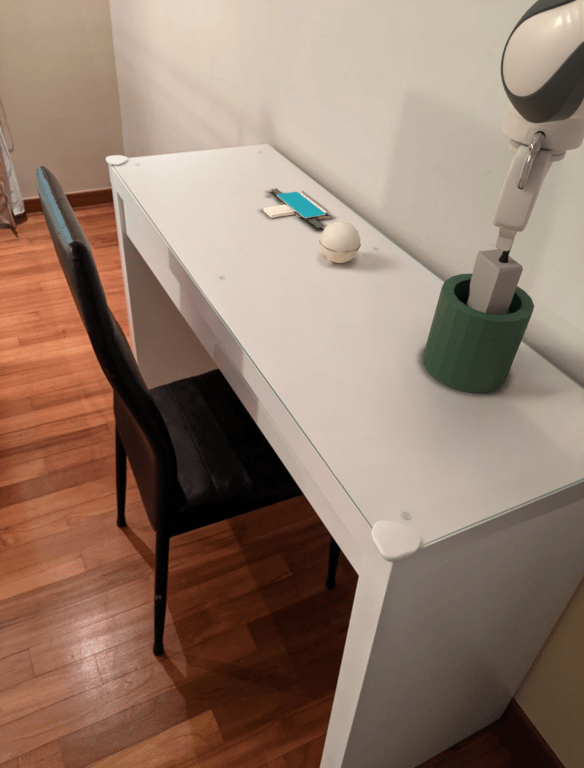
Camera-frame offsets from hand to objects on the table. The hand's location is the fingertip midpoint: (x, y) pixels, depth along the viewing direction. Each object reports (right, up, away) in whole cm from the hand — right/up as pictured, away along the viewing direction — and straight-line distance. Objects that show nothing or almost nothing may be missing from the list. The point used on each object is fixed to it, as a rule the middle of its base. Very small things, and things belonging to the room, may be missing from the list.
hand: (507, 236), depth 77 cm
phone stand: (-27, +17, +51) cm, 60 cm away
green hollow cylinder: (-2, -16, +13) cm, 21 cm away
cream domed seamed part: (-18, +3, +34) cm, 39 cm away
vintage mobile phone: (-2, -15, +13) cm, 20 cm away
